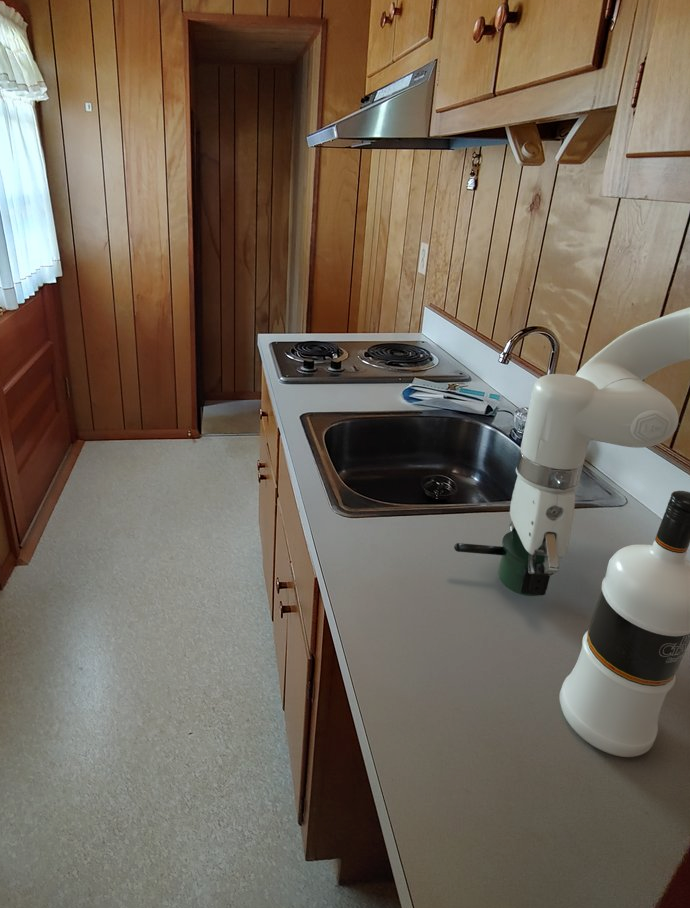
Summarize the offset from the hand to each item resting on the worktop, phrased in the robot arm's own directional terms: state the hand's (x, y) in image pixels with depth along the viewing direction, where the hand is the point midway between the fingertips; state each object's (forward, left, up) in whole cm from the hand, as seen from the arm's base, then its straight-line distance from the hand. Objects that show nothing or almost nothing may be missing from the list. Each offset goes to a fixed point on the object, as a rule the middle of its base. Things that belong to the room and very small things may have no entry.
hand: (523, 572), depth 79 cm
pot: (+3, 0, -1) cm, 4 cm away
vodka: (-3, +20, -3) cm, 21 cm away
